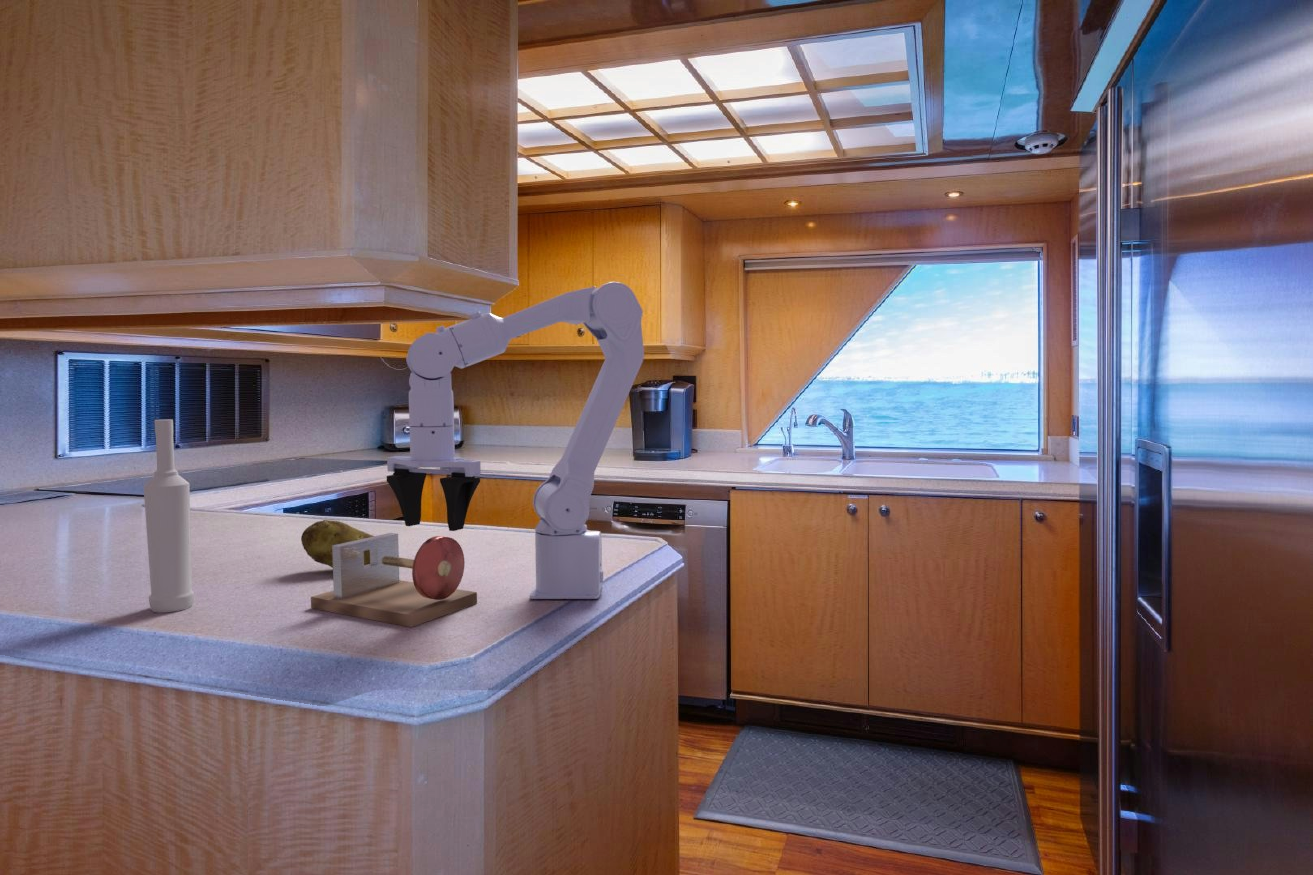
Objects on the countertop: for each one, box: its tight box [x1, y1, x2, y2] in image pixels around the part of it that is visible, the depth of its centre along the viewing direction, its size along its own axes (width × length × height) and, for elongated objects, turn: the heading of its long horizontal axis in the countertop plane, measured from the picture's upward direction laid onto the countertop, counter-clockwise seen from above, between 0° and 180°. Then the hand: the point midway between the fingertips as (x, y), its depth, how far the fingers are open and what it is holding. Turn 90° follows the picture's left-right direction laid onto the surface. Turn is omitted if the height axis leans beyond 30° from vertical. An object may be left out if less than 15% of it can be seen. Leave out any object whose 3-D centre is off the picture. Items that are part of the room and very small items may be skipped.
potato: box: [300, 519, 375, 569], centre depth 128 cm, size 8×13×8 cm, turn 82°
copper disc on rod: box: [382, 535, 466, 600], centre depth 106 cm, size 11×8×8 cm
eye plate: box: [332, 532, 400, 600], centre depth 110 cm, size 2×10×7 cm, turn 152°
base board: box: [310, 579, 478, 628], centre depth 108 cm, size 18×12×2 cm, turn 62°
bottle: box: [143, 418, 195, 614], centre depth 106 cm, size 5×5×25 cm
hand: (434, 527), depth 108 cm, fingers open, 7 cm apart
